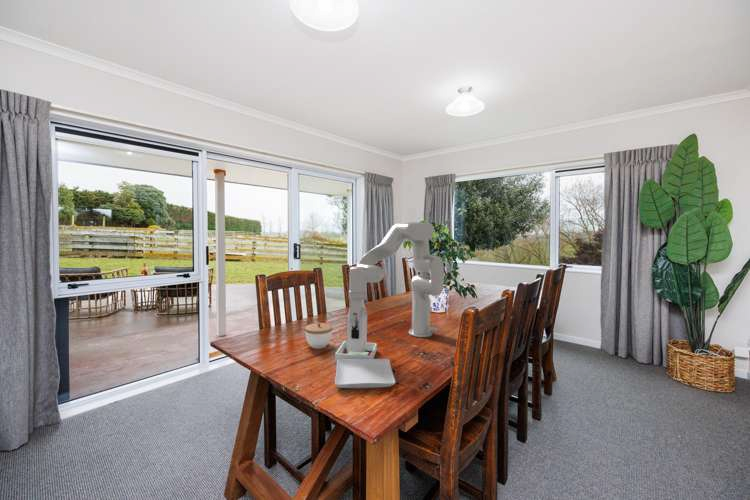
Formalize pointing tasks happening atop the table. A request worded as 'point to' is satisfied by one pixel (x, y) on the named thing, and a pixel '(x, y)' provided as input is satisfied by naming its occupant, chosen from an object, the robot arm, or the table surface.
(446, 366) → the table surface
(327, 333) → the lidded bowl
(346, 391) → the table surface
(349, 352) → the pad
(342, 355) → the square tray
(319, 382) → the table surface
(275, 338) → the table surface
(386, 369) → the salad plate
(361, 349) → the milk carton
